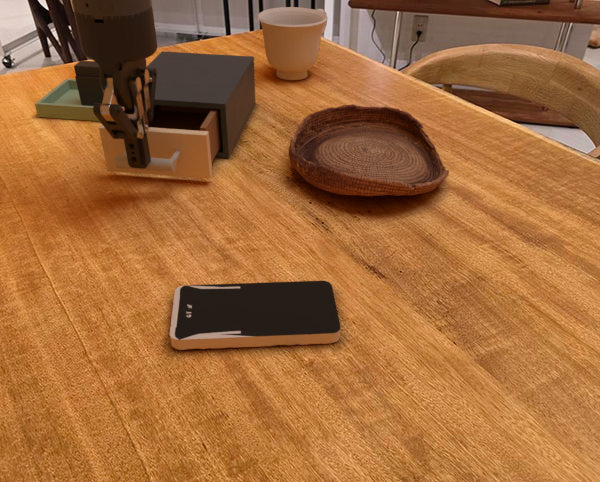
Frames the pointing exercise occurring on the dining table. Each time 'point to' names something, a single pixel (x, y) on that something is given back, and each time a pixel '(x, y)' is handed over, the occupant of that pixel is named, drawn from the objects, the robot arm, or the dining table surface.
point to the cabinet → (209, 88)
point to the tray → (64, 103)
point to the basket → (366, 152)
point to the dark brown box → (88, 82)
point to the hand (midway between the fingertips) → (140, 165)
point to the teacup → (292, 39)
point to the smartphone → (254, 315)
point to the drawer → (172, 143)
